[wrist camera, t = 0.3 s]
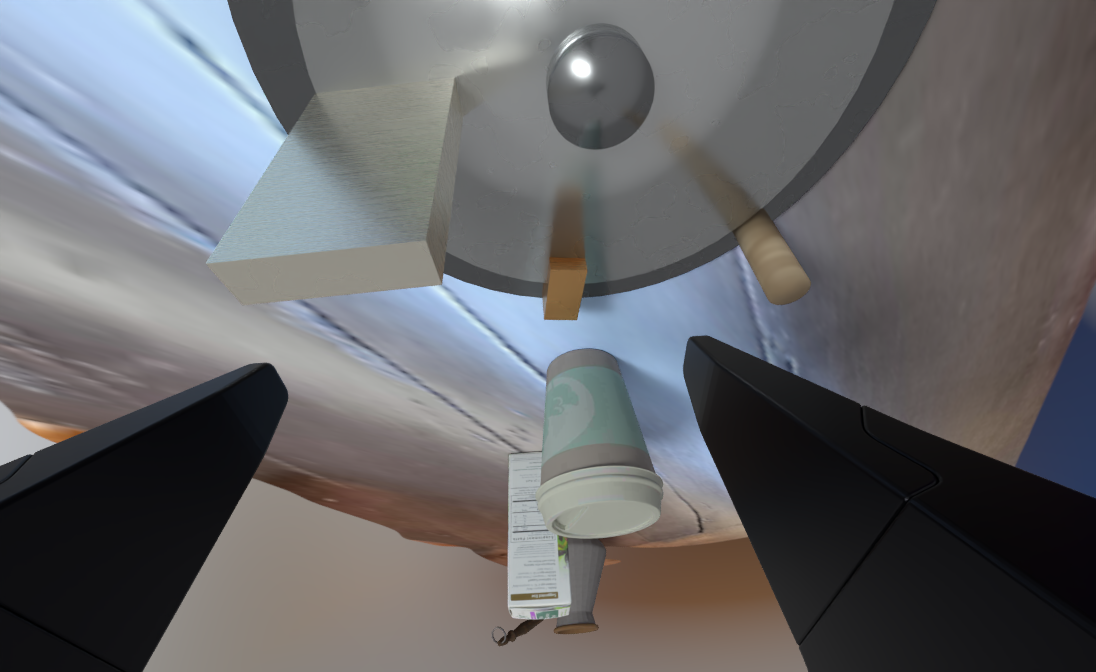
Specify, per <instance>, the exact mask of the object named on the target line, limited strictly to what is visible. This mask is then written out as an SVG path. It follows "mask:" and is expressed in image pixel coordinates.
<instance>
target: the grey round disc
mask: <svg viewBox="0 0 1096 672" xmlns="http://www.w3.org/2000/svg"><path fill="white" fill-rule="evenodd" d="M935 3H936V0H894V2H893V6H892V9H891V12H890V14H889V17H888V20H887V22H886V25H885V28H884V30H883V33H882V36H881V38H880V41H879V44H878V46H877V49H876V52H875V54H874V56H873V58H872V60H871V62H870V64H869V66H868V68H867V70H866V72H865V74H864V76H863V78H862V80H861V82H860V85H859V87H858V89H857V91H856V92H855V94H854V96H853V97H852V99H851V100H850V102H849V104H848V105H847V107H846V109H845V110H844V112H843V114H842V115H841V117H840V119H839V120H838V122H837V124H836V125H835V127H834V128H833V129H832V131H831V132H830V133H829V135H828V136H827V137H826V139H825V140H824V142H823V143H822V144H821V146H820V147H819V148H818V150H817V151H816V153H815V154H814V155H813V156H812V157H811V159H810V160H809V161H808V162H807V163H806V164H805V165H804V167H803V168H802V169H801V170H800V171H799V172H798V173H797V175H796V176H795V177H794V178H793V179H792V180H791V181H790V182H789V183H788V184H787V185H786V186H785V187H784V188H783V189H782V190H781V191H780V192H779V193H778V194H777V195H776V196H775V197H774V198H773V199H772V200H771V201H770V202H769V203H768V204H766V205H765V206H764V207H763V209H765V210H766V212H767V213H768V215H769V217H770V218H771V220H772V221H773V220H774V219H776V218H777V217H778V216H779V215H781V214H782V213H783V212H784V211H785V210H787V209H788V208H789V207H790V206H792V205H793V204H794V203H795V202H796V201H797V200H798V199H799V198H801V197H802V196H803V195H804V194H805V193H806V192H807V191H808V190H809V189H810V188H811V187H812V186H813V185H814V184H815V183H816V182H817V181H818V180H819V179H820V178H821V177H822V176H823V175H824V174H825V173H826V172H827V171H828V170H829V169H830V167H831V166H832V165H833V164H834V163H835V162H836V161H837V159H838V158H839V157H840V156H841V155H842V154H843V153H844V151H845V150H846V149H847V148H848V147H849V146H850V145H851V143H852V142H853V141H854V140H855V138H856V137H857V136H858V134H859V133H860V131H861V130H862V129H863V127H864V126H865V125H866V123H867V122H868V121H869V119H870V118H871V117H872V115H873V114H874V112H875V111H876V110H877V108H878V107H879V106H880V104H881V103H882V101H883V99H884V98H885V96H886V95H887V93H888V91H889V90H890V88H891V86H892V85H893V83H894V82H895V80H896V78H897V77H898V75H899V73H900V72H901V70H902V69H903V67H904V65H905V64H906V62H907V60H908V58H909V56H910V54H911V52H912V50H913V48H914V46H915V44H916V42H917V40H918V38H919V36H920V34H921V32H922V31H923V29H924V27H925V25H926V23H927V21H928V19H929V17H930V15H931V13H932V10H933V8H934V5H935ZM228 4H229V8H230V11H231V15H232V18H233V22H234V24H235V27H236V29H237V32H238V34H239V37H240V39H241V42H242V44H243V47H244V49H245V52H246V54H247V57H248V59H249V62H250V65H251V67H252V70H253V72H254V74H255V76H256V78H257V80H258V82H259V84H260V86H261V88H262V90H263V92H264V93H265V95H266V97H267V99H268V101H269V103H270V105H271V107H272V109H273V111H274V113H275V115H276V117H277V118H278V120H279V121H280V123H281V124H282V126H283V128H284V129H285V131H286V132H287V134H288V135H289V133H290V132H291V130H292V129H293V127H294V125H295V124H296V122H297V121H298V119H299V118H300V116H301V115H302V113H303V111H304V110H305V108H306V107H307V105H308V104H309V102H310V100H311V99H312V97H313V96H314V94H315V93H316V92H315V89H314V87H313V84H312V81H311V79H310V76H309V74H308V70H307V66H306V62H305V59H304V55H303V51H302V48H301V44H300V40H299V36H298V33H297V28H296V21H295V15H294V8H293V1H292V0H228ZM738 245H739V243H738V242H737V240H736V238H735V236H734V234H733V232H732V231H731V232H730V233H728V234H727V235H725V236H724V237H722V238H721V239H719V240H718V241H716V242H714V243H712V244H711V245H709V246H707V247H705V248H703V249H702V250H700V251H698V252H696V253H694V254H692V255H690V256H688V257H686V258H683V259H681V260H679V261H677V262H675V263H672V264H670V265H667V266H664V267H662V268H659V269H656V270H653V271H650V272H647V273H644V274H640V275H636V276H632V277H628V278H624V279H619V280H613V281H606V282H599V283H587V284H584V289H583V294H582V298H584V297H596V296H604V295H610V294H616V293H621V292H627V291H631V290H635V289H639V288H642V287H646V286H650V285H653V284H657V283H660V282H662V281H665V280H668V279H670V278H673V277H676V276H679V275H681V274H684V273H686V272H688V271H690V270H693V269H695V268H697V267H699V266H701V265H703V264H705V263H707V262H710V261H712V260H713V259H715V258H717V257H719V256H720V255H722V254H724V253H726V252H727V251H729V250H731V249H733V248H734V247H736V246H738ZM443 273H445V274H447V275H449V276H452V277H454V278H457V279H459V280H462V281H464V282H467V283H470V284H474V285H477V286H480V287H484V288H487V289H490V290H494V291H499V292H504V293H510V294H515V295H520V296H530V297H540V298H542V289H543V283H541V282H533V281H526V280H521V279H517V278H512V277H508V276H504V275H500V274H497V273H494V272H491V271H488V270H486V269H483V268H480V267H477V266H474V265H472V264H470V263H468V262H466V261H464V260H462V259H460V258H458V257H456V256H453V255H451V254H450V253H448V252H446V256H445V264H444V271H443Z"/></svg>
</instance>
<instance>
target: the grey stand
mask: <svg viewBox="0 0 1096 672" xmlns="http://www.w3.org/2000/svg"><path fill="white" fill-rule="evenodd" d="M292 1H293V8H294V15H295V21H296V28H297V33H298V36H299V40H300V44H301V48H302V51H303V55H304V59H305V62H306V66H307V70H308V74H309V76H310V79H311V81H312V84H313V87H314V89H315V92H316V93H315V94H314V96H313V97H312V99H311V100H310V102H309V104H308V105H307V107H306V108H305V110H304V111H303V113H302V115H301V116H300V118H299V119H298V121H297V122H296V124H295V125H294V127H293V129H292V130H291V132H290V133H289V135H288V136H287V138H286V139H285V141H284V143H283V144H282V146H281V147H280V149H279V150H278V152H277V153H276V155H275V157H274V158H273V160H272V161H271V163H270V164H269V166H268V167H267V169H266V171H265V172H264V174H263V175H262V177H261V178H260V180H259V181H258V183H257V185H256V186H255V188H254V189H253V191H252V192H251V194H250V195H249V197H248V199H247V200H246V202H245V203H244V205H243V206H242V208H241V209H240V211H239V213H238V214H237V216H236V217H235V219H234V220H233V222H232V223H231V225H230V227H229V228H228V230H227V231H226V233H225V234H224V236H223V238H222V239H221V241H220V242H219V244H218V245H217V247H216V248H215V250H214V252H213V253H212V255H211V256H210V258H209V259H208V261H207V262H206V265H207V266H208V267H209V268H210V269H211V270H212V271H213V273H214V274H215V275H216V276H217V277H218V278H219V279H220V281H221V282H222V283H223V284H224V285H225V286H226V287H227V288H228V290H229V291H230V292H231V293H232V294H233V295H234V296H235V297H236V299H237V300H238V301H239V302H240V303H241V304H242V305H251V304H261V303H270V302H280V301H290V300H299V299H309V298H319V297H328V296H338V295H348V294H357V293H367V292H377V291H386V290H396V289H406V288H415V287H425V286H435V285H442V279H443V271H444V264H445V256H446V252H448V253H450V254H451V255H453V256H456V257H458V258H460V259H462V260H464V261H466V262H468V263H470V264H472V265H474V266H477V267H480V268H483V269H486V270H488V271H491V272H494V273H497V274H500V275H504V276H508V277H512V278H517V279H521V280H526V281H533V282H541V283H543V289H542V298H543V311H544V320H577V317H578V313H579V308H580V303H581V299H582V294H583V289H584V284H587V283H599V282H606V281H613V280H619V279H624V278H628V277H632V276H636V275H640V274H644V273H647V272H650V271H653V270H656V269H659V268H662V267H664V266H667V265H670V264H672V263H675V262H677V261H679V260H681V259H683V258H686V257H688V256H690V255H692V254H694V253H696V252H698V251H700V250H702V249H703V248H705V247H707V246H709V245H711V244H712V243H714V242H716V241H718V240H719V239H721V238H722V237H724V236H725V235H727V234H728V233H730V232H731V231H733V230H734V229H736V228H737V227H739V226H740V225H742V224H743V223H744V222H745V221H747V220H748V219H749V218H750V217H752V216H753V215H754V214H755V213H757V212H758V211H759V210H760V209H762V208H763V207H764V206H765V205H766V204H768V203H769V202H770V201H771V200H772V199H773V198H774V197H775V196H776V195H777V194H778V193H779V192H780V191H781V190H782V189H783V188H784V187H785V186H786V185H787V184H788V183H789V182H790V181H791V180H792V179H793V178H794V177H795V176H796V175H797V173H798V172H799V171H800V170H801V169H802V168H803V167H804V165H805V164H806V163H807V162H808V161H809V160H810V159H811V157H812V156H813V155H814V154H815V153H816V151H817V150H818V148H819V147H820V146H821V144H822V143H823V142H824V140H825V139H826V137H827V136H828V135H829V133H830V132H831V131H832V129H833V128H834V127H835V125H836V124H837V122H838V120H839V119H840V117H841V115H842V114H843V112H844V110H845V109H846V107H847V105H848V104H849V102H850V100H851V99H852V97H853V96H854V94H855V92H856V91H857V89H858V87H859V85H860V82H861V80H862V78H863V76H864V74H865V72H866V70H867V68H868V66H869V64H870V62H871V60H872V58H873V56H874V54H875V52H876V49H877V46H878V44H879V41H880V38H881V36H882V33H883V30H884V28H885V25H886V22H887V20H888V17H889V14H890V12H891V9H892V6H893V2H894V0H292Z"/></svg>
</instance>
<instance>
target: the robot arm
mask: <svg viewBox="0 0 1096 672" xmlns="http://www.w3.org/2000/svg"><path fill="white" fill-rule="evenodd" d="M683 374H684V379H685V382H686V386H687V389H688V392H689V396H690V399H691V402H692V406H693V409H694V412H695V416H696V419H697V422H698V425H699V428H700V431H701V434H702V436H703V438H704V441H705V443H706V445H707V447H708V449H709V452H710V454H711V456H712V458H713V460H714V463H715V465H716V467H717V469H718V471H719V474H720V476H721V478H722V480H723V482H724V485H725V487H726V489H727V491H728V493H729V496H730V498H731V500H732V502H733V504H734V507H735V509H736V511H737V513H738V515H739V517H740V520H741V522H742V524H743V526H744V528H745V531H746V533H747V535H748V537H749V539H750V542H751V544H752V546H753V548H754V550H755V553H756V555H757V557H758V559H759V561H760V564H761V565H762V568H763V570H764V572H765V575H766V577H767V579H768V581H769V583H770V585H771V588H772V590H773V592H774V594H775V597H776V599H777V601H778V603H779V605H780V608H781V610H782V612H783V614H784V616H785V618H786V621H787V623H788V625H789V627H790V629H791V632H792V634H793V636H794V638H795V640H796V643H797V644H798V645H800V646H799V649H800V652H801V654H802V656H803V659H804V661H805V664H806V666H807V669H808V672H1096V498H1094V497H1091V496H1088V495H1086V494H1083V493H1081V492H1078V491H1076V490H1073V489H1070V488H1067V487H1065V486H1063V485H1060V484H1058V483H1055V482H1052V481H1050V480H1047V479H1044V478H1042V477H1040V476H1037V475H1034V474H1032V473H1029V472H1027V471H1024V470H1022V469H1019V468H1016V467H1014V466H1011V465H1009V464H1006V463H1004V462H1001V461H998V460H996V459H993V458H991V457H988V456H986V455H983V454H980V453H978V452H975V451H973V450H970V449H968V448H965V447H962V446H960V445H957V444H955V443H952V442H950V441H947V440H945V439H942V438H940V437H937V436H935V435H932V434H930V433H927V432H925V431H923V430H920V429H918V428H915V427H913V426H911V425H908V424H906V423H904V422H901V421H899V420H897V419H894V418H892V417H890V416H887V415H885V414H883V413H881V412H879V411H876V410H874V409H872V408H870V407H867V406H862V407H861V405H860V404H859V403H857V402H855V401H852V400H850V399H848V398H846V397H843V396H841V395H839V394H837V393H835V392H832V391H830V390H828V389H826V388H823V387H821V386H819V385H817V384H814V383H812V382H810V381H808V380H806V379H803V378H801V377H799V376H797V375H794V374H792V373H790V372H788V371H786V370H783V369H781V368H779V367H777V366H774V365H772V364H770V363H768V362H766V361H763V360H761V359H759V358H757V357H754V356H752V355H750V354H748V353H745V352H743V351H741V350H739V349H737V348H734V347H732V346H730V345H728V344H725V343H723V342H721V341H719V340H717V339H714V338H712V337H710V336H692V337H690V338H689V339H688V341H687V346H686V352H685V358H684V364H683ZM287 402H288V391H287V389H286V387H285V385H284V383H283V381H282V380H281V378H280V376H279V374H278V373H277V371H276V369H275V368H274V366H273V365H272V364H270V363H253V364H249V365H246V366H244V367H241V368H239V369H236V370H234V371H231V372H229V373H227V374H224V375H222V376H219V377H217V378H214V379H212V380H210V381H207V382H205V383H202V384H200V385H198V386H195V387H193V388H190V389H188V390H185V391H183V392H181V393H178V394H176V395H173V396H171V397H168V398H166V399H164V400H161V401H159V402H156V403H154V404H151V405H149V406H147V407H144V408H142V409H139V410H137V411H134V412H132V413H130V414H127V415H125V416H122V417H120V418H117V419H115V420H113V421H110V422H108V423H105V424H103V425H100V426H98V427H96V428H93V429H91V430H88V431H86V432H84V433H81V434H79V435H76V436H74V437H71V438H69V439H67V440H64V441H62V442H59V443H57V444H54V445H52V446H50V447H47V448H45V449H42V450H40V451H37V452H36V453H34V455H26V456H23V457H21V458H18V459H16V460H14V461H11V462H9V463H6V464H4V465H1V466H0V672H143V670H144V668H145V666H146V665H147V663H148V661H149V659H150V657H151V656H152V654H153V652H154V651H155V649H156V647H157V645H158V643H159V642H160V640H161V638H162V636H163V634H164V633H165V631H166V629H167V627H168V626H169V624H170V622H171V620H172V619H173V617H174V615H175V613H176V612H177V610H178V608H179V606H180V605H181V603H182V601H183V599H184V597H185V596H186V594H187V592H188V590H189V589H190V587H191V585H192V583H193V582H194V580H195V578H196V576H197V575H198V573H199V571H200V569H201V567H202V566H203V564H204V562H205V560H206V558H207V557H208V555H209V553H210V551H211V550H212V548H213V546H214V544H215V543H216V541H217V539H218V537H219V535H220V534H221V532H222V530H223V529H224V527H225V525H226V523H227V521H228V520H229V518H230V516H231V514H232V513H233V511H234V509H235V507H236V506H237V504H238V502H239V500H240V499H241V497H242V495H243V493H244V491H245V490H246V488H247V486H248V484H249V483H250V481H251V479H252V477H253V476H254V474H255V472H256V470H257V469H258V467H259V465H260V463H261V461H262V459H263V457H264V455H265V453H266V451H267V449H268V447H269V444H270V442H271V440H272V437H273V435H274V433H275V430H276V428H277V426H278V423H279V421H280V419H281V416H282V414H283V412H284V409H285V407H286V405H287Z"/></svg>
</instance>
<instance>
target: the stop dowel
mask: <svg viewBox="0 0 1096 672" xmlns="http://www.w3.org/2000/svg"><path fill="white" fill-rule="evenodd" d="M732 232H733V234H734V236H735V238H736V240H737V242H738V243H739V245H740V247H741V249H742V251H743V253H744V255H745V257H746V259H747V261H748V262H749V264H750V266H751V268H752V270H753V272H754V274H755V276H756V278H757V280H758V281H759V283H760V285H761V287H762V289H763V291H764V293H765V295H766V297H767V298H768V300H769V302H770V303H772V304H775V305H784V304H789V303H792V302H794V301H796V300H798V299H800V298H801V297H802V296H804V295H805V294H806V293H807V292H808V290H809V289H810V286H811V282H810V280H809V278H808V276H807V275H806V273H805V272H804V270H803V269H802V267H801V265H800V264H799V262H798V261H797V259H796V258H795V256H794V254H793V253H792V251H791V250H790V248H789V247H788V245H787V243H786V242H785V240H784V239H783V237H782V235H781V234H780V232H779V231H778V229H777V228H776V226H775V224H774V223H773V221H772V220H771V218H770V217H769V215H768V213H767V212H766V210H765V209H763V208H762V209H760V210H759V211H758V212H757V213H755V214H754V215H753V216H752V217H750V218H749V219H748V220H747V221H745V222H744V223H743V224H742V225H740V226H739V227H737V228H736V229H734V230H733V231H732Z"/></svg>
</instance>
